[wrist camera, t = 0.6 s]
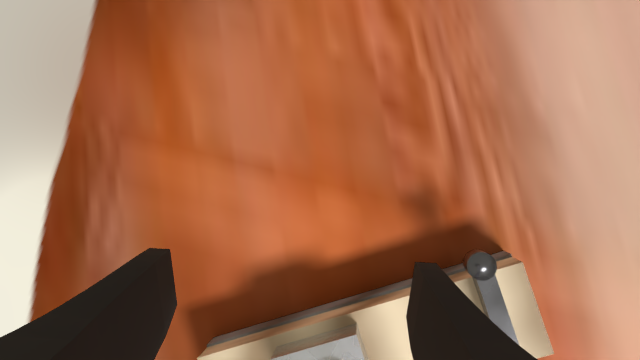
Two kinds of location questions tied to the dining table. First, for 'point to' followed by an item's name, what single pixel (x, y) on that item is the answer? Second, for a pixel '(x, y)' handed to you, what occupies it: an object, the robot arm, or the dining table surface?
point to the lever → (489, 289)
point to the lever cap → (325, 346)
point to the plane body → (387, 319)
